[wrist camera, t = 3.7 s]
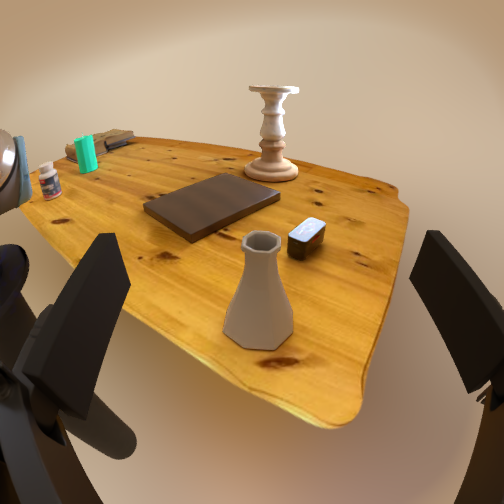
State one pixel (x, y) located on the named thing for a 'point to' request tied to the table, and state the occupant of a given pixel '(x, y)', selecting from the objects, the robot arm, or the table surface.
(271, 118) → the candle holder
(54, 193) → the pill bottle
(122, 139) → the book
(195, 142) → the table surface
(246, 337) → the flask
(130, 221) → the table surface
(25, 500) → the robot arm
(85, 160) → the candle
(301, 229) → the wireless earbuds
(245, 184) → the walnut board
